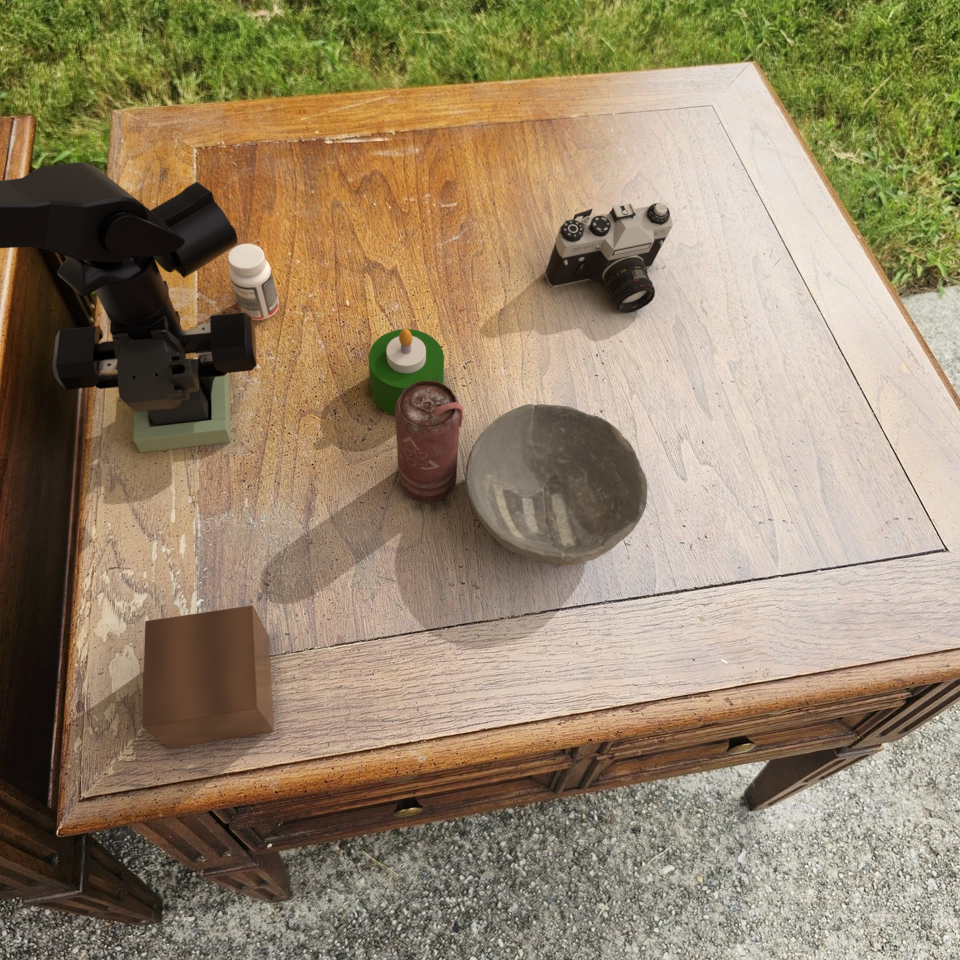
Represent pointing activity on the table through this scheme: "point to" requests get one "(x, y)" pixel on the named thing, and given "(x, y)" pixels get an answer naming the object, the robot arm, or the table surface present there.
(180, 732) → the block
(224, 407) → the green square frame
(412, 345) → the candle
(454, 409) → the can
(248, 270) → the pill bottle
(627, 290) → the camera
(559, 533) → the bowl
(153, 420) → the black block
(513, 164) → the table surface
